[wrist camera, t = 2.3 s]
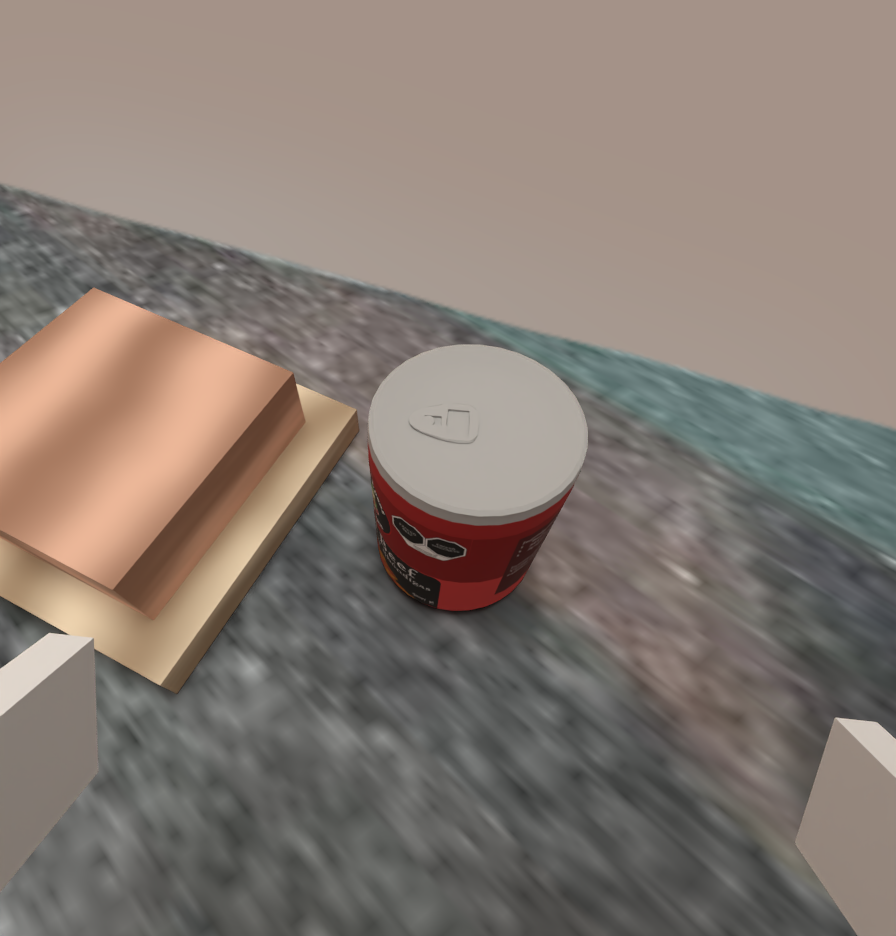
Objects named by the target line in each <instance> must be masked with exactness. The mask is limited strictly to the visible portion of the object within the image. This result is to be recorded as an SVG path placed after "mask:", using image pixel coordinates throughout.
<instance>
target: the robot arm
mask: <svg viewBox="0 0 896 936" xmlns="http://www.w3.org/2000/svg"><path fill="white" fill-rule="evenodd" d="M97 773H98V747H97V717H96V687H95V657H94V638H91V637H82V636H72V635H63V634H54V633H49V634H47V635H46V636H45V637H43V638H42V639H40V640H39V641H38V642H36V643H35V644H34V645H32V646H31V647H30V648H28V649H27V650H25V651H24V652H23V653H21V654H20V655H19V656H17V657H16V658H15V659H13V660H12V661H10V662H9V663H8V664H6V665H5V666H4V667H2V668H1V669H0V892H1V891H2V889H3V888H4V887H5V886H6V884H7V883H8V882H9V881H10V880H11V878H12V877H13V876H14V875H15V873H16V872H17V871H18V870H19V869H20V867H21V866H22V865H23V864H24V862H25V861H26V860H27V859H28V857H29V856H30V855H31V854H32V853H33V851H34V850H35V849H36V848H37V846H38V845H39V844H40V843H41V841H42V840H43V839H44V838H45V837H46V835H47V834H48V833H49V832H50V830H51V829H52V828H53V827H54V825H55V824H56V823H57V822H58V821H59V819H60V818H61V817H62V816H63V814H64V813H65V812H66V811H67V809H68V808H69V807H70V806H71V805H72V803H73V802H74V801H75V800H76V798H77V797H78V796H79V795H80V794H81V792H82V791H83V790H84V789H85V787H86V786H87V785H88V784H89V782H90V781H91V780H92V779H93V778H94V776H95V775H96V774H97ZM795 844H796V846H797V847H798V849H799V850H800V852H801V853H802V855H803V856H804V858H805V859H806V860H807V862H808V863H809V865H810V866H811V868H812V869H813V871H814V872H815V874H816V875H817V877H818V878H819V880H820V881H821V883H822V884H823V885H824V887H825V888H826V890H827V891H828V893H829V894H830V896H831V897H832V899H833V900H834V902H835V903H836V905H837V906H838V908H839V909H840V910H841V912H842V913H843V915H844V916H845V918H846V919H847V921H848V922H849V924H850V925H851V927H852V928H853V930H854V931H855V933H856V934H857V936H896V739H895V738H894V737H893V736H892V735H891V734H889V733H888V732H887V731H886V730H885V729H884V728H883V727H882V726H881V725H879V724H878V723H877V722H871V721H862V720H853V719H843V718H835V719H834V722H833V725H832V728H831V731H830V734H829V738H828V741H827V744H826V747H825V750H824V753H823V756H822V759H821V762H820V766H819V769H818V772H817V775H816V778H815V781H814V784H813V787H812V791H811V794H810V797H809V800H808V803H807V806H806V809H805V812H804V815H803V819H802V822H801V825H800V828H799V831H798V834H797V837H796V840H795Z"/></svg>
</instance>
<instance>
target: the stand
mask: <svg viewBox="0 0 896 936" xmlns="http://www.w3.org/2000/svg"><path fill="white" fill-rule="evenodd" d="M358 431H359V426H358V417H357V410H356V409H354V408H352V407H349V406H347V405H345V404H342V403H340V402H338V401H335V400H333V399H331V398H328V397H326V396H324V395H321V394H319V393H317V392H314V391H312V390H310V389H307V388H305V387H303V386H300V385H298V384H296V382H295V378H294V374H293V372H290V371H288V370H286V369H283V368H281V367H279V366H276V365H274V364H272V363H269V362H267V361H264V360H262V359H260V358H257V357H255V356H253V355H250V354H248V353H246V352H243V351H241V350H239V349H236V348H234V347H232V346H229V345H227V344H225V343H222V342H220V341H218V340H215V339H213V338H210V337H208V336H206V335H203V334H201V333H199V332H196V331H194V330H192V329H189V328H187V327H185V326H182V325H180V324H178V323H175V322H173V321H171V320H168V319H166V318H164V317H161V316H159V315H156V314H154V313H152V312H149V311H147V310H145V309H142V308H140V307H138V306H135V305H133V304H131V303H128V302H126V301H124V300H121V299H119V298H117V297H114V296H112V295H110V294H107V293H105V292H102V291H100V290H98V289H95V288H93V289H91V290H90V291H89V292H88V293H86V294H85V295H84V296H83V297H82V298H80V299H79V300H78V301H77V302H75V303H74V304H73V305H72V306H70V307H69V308H68V309H67V310H65V311H64V312H63V313H62V314H60V315H59V316H58V317H57V318H56V319H54V320H53V321H52V322H51V323H49V324H48V325H47V326H46V327H44V328H43V329H42V330H41V331H39V332H38V333H37V334H36V335H34V336H33V337H32V338H31V339H30V340H28V341H27V342H26V343H25V344H23V345H22V346H21V347H20V348H18V349H17V350H16V351H15V352H13V353H12V354H11V355H10V356H8V357H7V358H6V359H5V360H4V361H2V362H1V363H0V596H1V597H3V598H5V599H7V600H9V601H10V602H12V603H14V604H16V605H18V606H19V607H21V608H23V609H25V610H26V611H28V612H30V613H32V614H34V615H35V616H37V617H39V618H41V619H42V620H44V621H46V622H48V623H50V624H51V625H53V626H55V627H57V628H58V629H60V630H62V631H64V632H66V633H67V634H69V635H72V636H82V637H91V638H94V649H96V650H98V651H99V652H101V653H103V654H105V655H107V656H108V657H110V658H112V659H114V660H116V661H117V662H119V663H121V664H123V665H124V666H126V667H128V668H130V669H132V670H133V671H135V672H137V673H139V674H140V675H142V676H144V677H146V678H148V679H149V680H151V681H153V682H155V683H156V684H158V685H160V686H162V687H164V688H166V689H168V690H170V691H172V692H174V693H176V694H177V693H178V692H179V690H180V689H181V687H182V686H183V685H184V683H185V682H186V680H187V679H188V677H189V676H190V674H191V673H192V672H193V670H194V669H195V667H196V666H197V664H198V663H199V661H200V660H201V658H202V657H203V656H204V654H205V653H206V651H207V650H208V648H209V647H210V645H211V644H212V643H213V641H214V640H215V638H216V637H217V635H218V634H219V632H220V631H221V630H222V628H223V627H224V625H225V624H226V622H227V621H228V619H229V618H230V617H231V615H232V614H233V612H234V611H235V609H236V608H237V606H238V605H239V604H240V602H241V601H242V599H243V598H244V596H245V595H246V593H247V592H248V590H249V589H250V588H251V586H252V585H253V583H254V582H255V580H256V579H257V577H258V576H259V575H260V573H261V572H262V570H263V569H264V567H265V566H266V564H267V563H268V562H269V560H270V559H271V557H272V556H273V554H274V553H275V551H276V550H277V549H278V547H279V546H280V544H281V543H282V541H283V540H284V538H285V537H286V535H287V534H288V533H289V531H290V530H291V528H292V527H293V525H294V524H295V522H296V521H297V520H298V518H299V517H300V515H301V514H302V512H303V511H304V509H305V508H306V507H307V505H308V504H309V502H310V501H311V499H312V498H313V496H314V495H315V494H316V492H317V491H318V489H319V488H320V486H321V485H322V483H323V482H324V481H325V479H326V478H327V476H328V475H329V473H330V472H331V470H332V469H333V467H334V466H335V465H336V463H337V462H338V460H339V459H340V457H341V456H342V454H343V453H344V452H345V450H346V449H347V447H348V446H349V444H350V443H351V441H352V440H353V439H354V437H355V436H356V434H357V433H358Z"/></svg>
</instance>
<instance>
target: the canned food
mask: <svg viewBox="0 0 896 936" xmlns="http://www.w3.org/2000/svg"><path fill="white" fill-rule="evenodd" d="M587 447H588V429H587V424H586V420H585V416H584V413H583V411H582V409H581V407H580V405H579V403H578V401H577V399H576V397H575V396H574V394H573V393H572V392H571V390H570V389H569V388H568V387H567V385H566V384H565V383H564V382H563V381H562V380H561V379H560V378H558V377H557V376H556V375H555V374H554V373H553V372H552V371H550V370H549V369H547V368H546V367H544V366H543V365H541V364H540V363H538V362H536V361H535V360H532V359H530V358H528V357H526V356H523V355H521V354H519V353H516V352H513V351H509V350H506V349H502V348H499V347H492V346H485V345H453V346H446V347H440V348H437V349H433V350H430V351H427V352H423V353H421V354H419V355H417V356H415V357H413V358H411V359H409V360H407V361H405V362H404V363H403V364H401V365H400V366H399V367H397V368H396V369H395V370H393V371H392V372H391V373H390V374H389V375H388V377H387V378H386V379H385V380H384V381H383V382H382V383H381V385H380V387H379V388H378V390H377V392H376V394H375V396H374V397H373V400H372V404H371V408H370V411H369V420H368V451H369V466H370V476H371V485H372V494H373V504H374V513H375V522H376V531H377V541H378V548H379V552H380V557H381V560H382V562H383V565H384V567H385V569H386V571H387V573H388V574H389V576H390V577H391V578H392V579H393V581H394V582H395V583H396V585H397V586H399V587H400V588H401V589H402V590H403V591H404V592H406V593H407V594H408V595H409V596H411V597H413V598H415V599H416V600H418V601H420V602H422V603H423V604H426V605H429V606H432V607H434V608H437V609H443V610H450V611H463V610H473V609H477V608H481V607H485V606H488V605H490V604H492V603H495V602H497V601H499V600H501V599H502V598H503V597H505V596H506V595H508V594H509V593H510V592H512V591H513V590H514V589H515V587H516V586H517V585H518V584H519V583H520V582H521V581H522V579H523V577H524V576H525V574H526V572H527V570H528V568H529V567H530V565H531V563H532V561H533V559H534V557H535V556H536V554H537V552H538V550H539V548H540V547H541V545H542V543H543V541H544V539H545V537H546V536H547V534H548V532H549V530H550V528H551V527H552V525H553V523H554V521H555V519H556V517H557V516H558V514H559V512H560V510H561V508H562V506H563V505H564V503H565V501H566V499H567V497H568V496H569V494H570V492H571V490H572V488H573V486H574V483H575V481H576V480H577V478H578V476H579V474H580V472H581V469H582V465H583V462H584V458H585V455H586V451H587Z"/></svg>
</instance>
